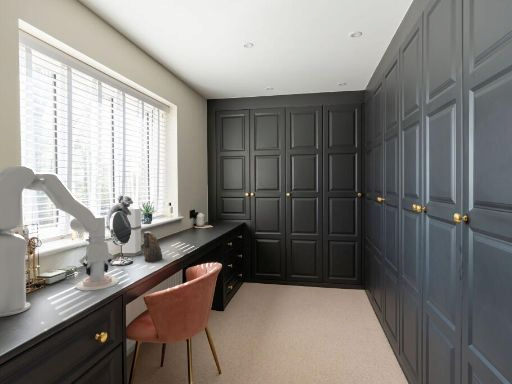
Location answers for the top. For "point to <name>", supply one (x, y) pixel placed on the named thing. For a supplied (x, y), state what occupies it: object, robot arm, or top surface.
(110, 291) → the top surface
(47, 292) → the top surface
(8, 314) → the robot arm
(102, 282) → the vanity tray
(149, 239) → the rock
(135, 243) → the white tall boxy piece
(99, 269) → the skincare box
